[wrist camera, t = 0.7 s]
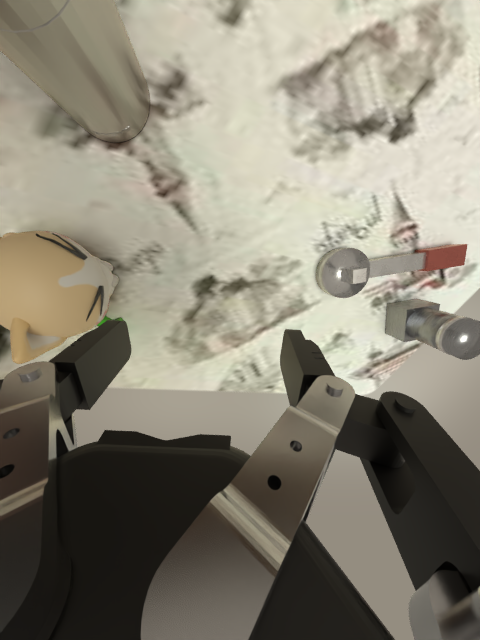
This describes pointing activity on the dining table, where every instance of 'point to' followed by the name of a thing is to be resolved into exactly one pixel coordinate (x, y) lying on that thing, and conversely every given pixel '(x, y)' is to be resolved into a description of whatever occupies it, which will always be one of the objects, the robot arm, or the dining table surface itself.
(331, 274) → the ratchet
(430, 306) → the cylinder on square base
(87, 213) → the dining table surface
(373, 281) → the dining table surface
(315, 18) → the dining table surface
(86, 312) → the kitten
